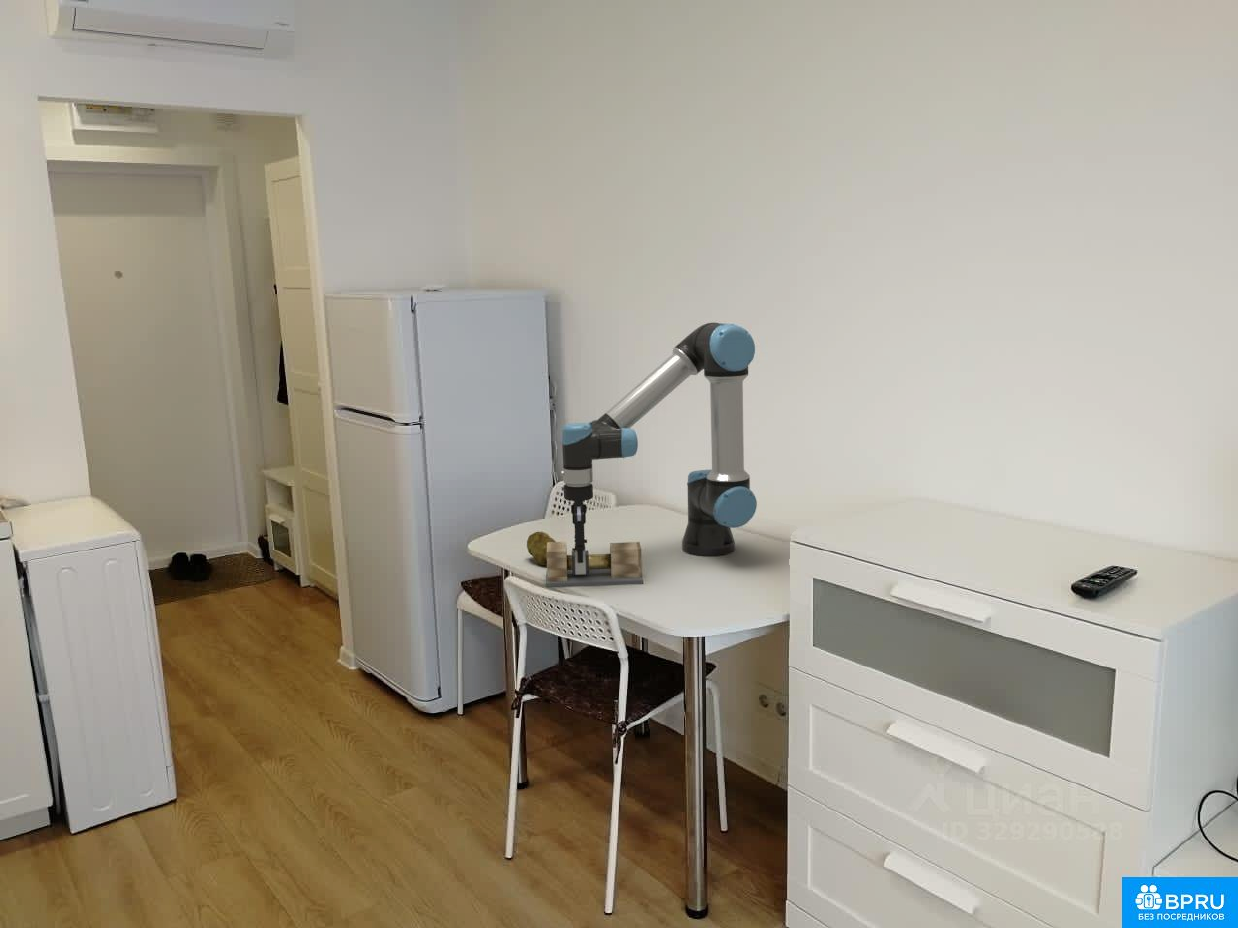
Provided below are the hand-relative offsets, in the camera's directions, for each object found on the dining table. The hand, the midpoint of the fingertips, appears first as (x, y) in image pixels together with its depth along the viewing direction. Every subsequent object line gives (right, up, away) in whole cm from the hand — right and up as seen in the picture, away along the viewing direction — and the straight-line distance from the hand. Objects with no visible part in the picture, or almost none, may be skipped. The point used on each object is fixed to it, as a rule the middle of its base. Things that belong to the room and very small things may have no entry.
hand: (580, 570), depth 255 cm
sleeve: (+12, -1, +1) cm, 12 cm away
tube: (+1, 0, 0) cm, 2 cm away
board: (+3, -2, +1) cm, 4 cm away
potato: (-11, 0, +16) cm, 19 cm away
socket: (-6, -2, 0) cm, 6 cm away
